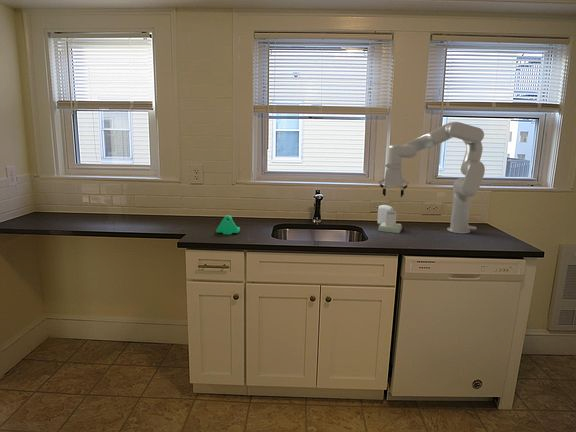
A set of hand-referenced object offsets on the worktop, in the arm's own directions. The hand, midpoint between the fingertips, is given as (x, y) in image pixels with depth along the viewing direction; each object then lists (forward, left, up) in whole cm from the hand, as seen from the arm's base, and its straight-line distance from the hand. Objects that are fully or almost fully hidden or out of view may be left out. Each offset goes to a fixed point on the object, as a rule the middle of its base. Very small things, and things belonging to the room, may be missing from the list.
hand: (392, 196), depth 238 cm
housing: (0, 0, -17) cm, 17 cm away
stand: (0, 0, -20) cm, 20 cm away
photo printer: (+5, -14, -21) cm, 25 cm away
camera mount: (+83, +46, -21) cm, 98 cm away
